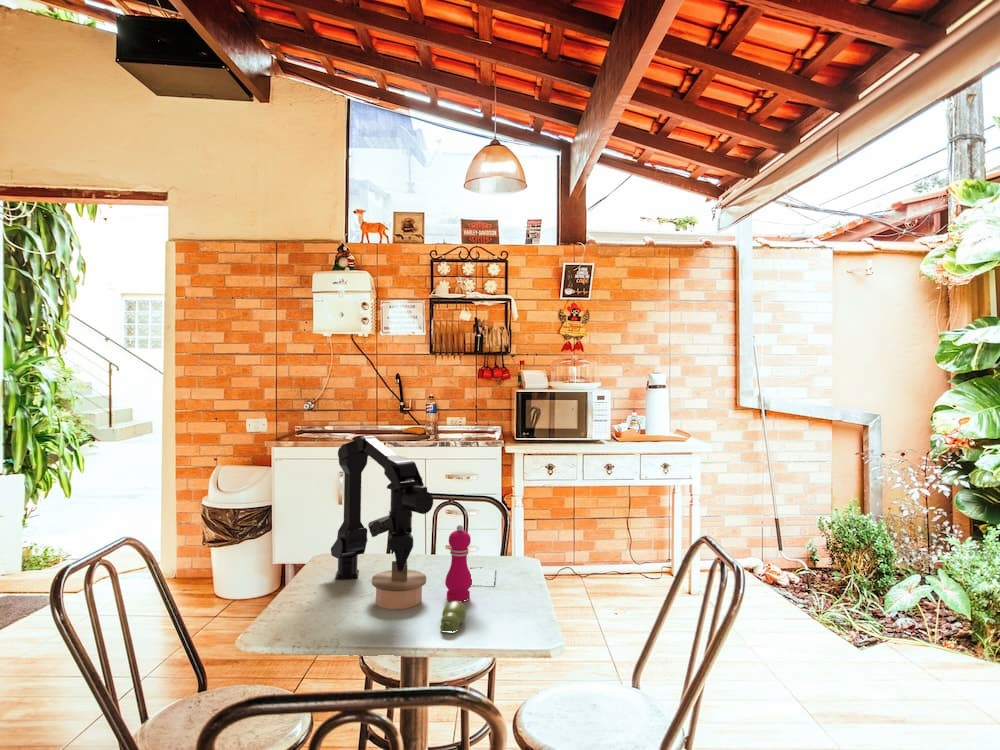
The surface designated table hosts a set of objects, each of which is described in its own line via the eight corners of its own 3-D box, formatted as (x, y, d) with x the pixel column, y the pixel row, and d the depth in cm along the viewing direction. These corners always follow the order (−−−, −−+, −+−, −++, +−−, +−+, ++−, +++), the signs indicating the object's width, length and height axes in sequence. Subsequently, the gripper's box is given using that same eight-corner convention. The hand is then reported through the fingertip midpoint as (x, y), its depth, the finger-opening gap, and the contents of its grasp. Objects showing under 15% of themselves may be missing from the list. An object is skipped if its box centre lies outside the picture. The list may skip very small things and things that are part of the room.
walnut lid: (372, 574, 167) (372, 556, 167) (424, 572, 170) (425, 554, 170) (371, 592, 153) (371, 572, 153) (427, 590, 156) (428, 570, 156)
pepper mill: (439, 599, 163) (441, 525, 163) (453, 591, 169) (455, 520, 169) (462, 605, 159) (464, 529, 160) (476, 596, 166) (478, 524, 166)
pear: (468, 598, 149) (458, 620, 140) (469, 617, 150) (458, 641, 141) (447, 595, 151) (435, 617, 141) (447, 615, 151) (435, 638, 142)
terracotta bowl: (376, 593, 166) (377, 575, 166) (420, 591, 168) (420, 573, 168) (375, 610, 155) (375, 590, 155) (422, 608, 157) (422, 588, 157)
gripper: (371, 500, 169) (370, 556, 169) (369, 515, 151) (367, 578, 151) (411, 500, 171) (410, 555, 171) (414, 515, 153) (412, 576, 153)
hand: (399, 565), depth 161 cm, fingers open, 9 cm apart
